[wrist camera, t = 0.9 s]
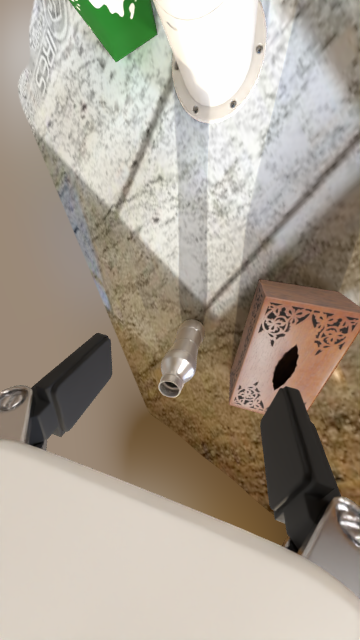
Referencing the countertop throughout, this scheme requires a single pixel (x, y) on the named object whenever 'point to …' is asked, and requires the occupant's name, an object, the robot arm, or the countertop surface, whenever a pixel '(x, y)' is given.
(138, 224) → the countertop surface
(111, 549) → the robot arm
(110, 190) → the countertop surface
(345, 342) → the tissue box cover
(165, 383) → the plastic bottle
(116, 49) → the milk carton
